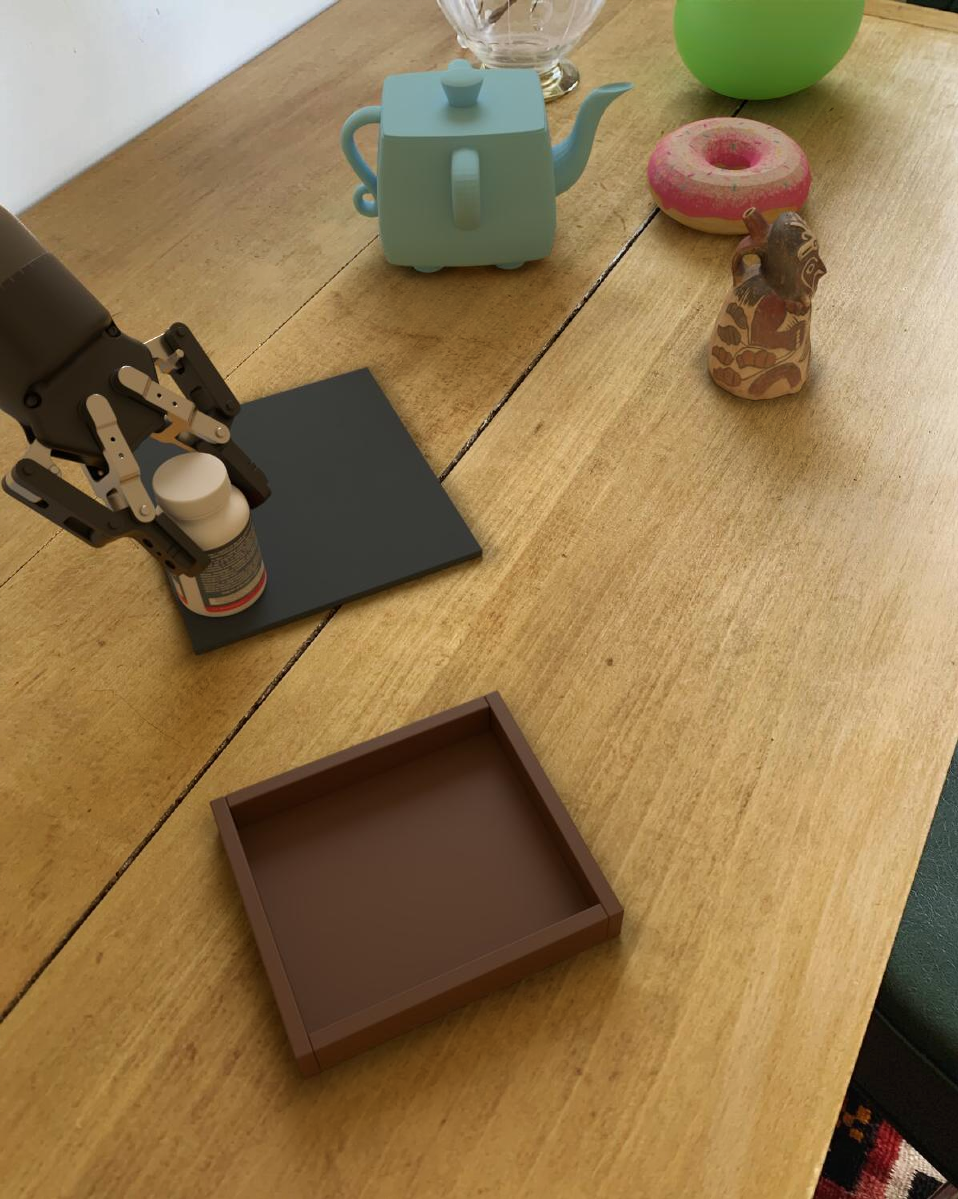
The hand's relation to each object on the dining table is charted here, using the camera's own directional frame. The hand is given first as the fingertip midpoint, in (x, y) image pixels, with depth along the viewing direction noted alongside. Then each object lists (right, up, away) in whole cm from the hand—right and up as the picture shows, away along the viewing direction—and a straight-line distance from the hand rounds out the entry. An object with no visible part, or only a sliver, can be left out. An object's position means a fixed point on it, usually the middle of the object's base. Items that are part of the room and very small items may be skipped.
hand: (231, 534), depth 62 cm
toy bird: (+40, +46, +46) cm, 76 cm away
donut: (+34, +30, +32) cm, 55 cm away
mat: (+2, +3, +10) cm, 11 cm away
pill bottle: (-1, -3, +5) cm, 6 cm away
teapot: (+14, +26, +29) cm, 42 cm away
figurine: (+33, +13, +17) cm, 40 cm away
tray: (+10, -17, -8) cm, 22 cm away
